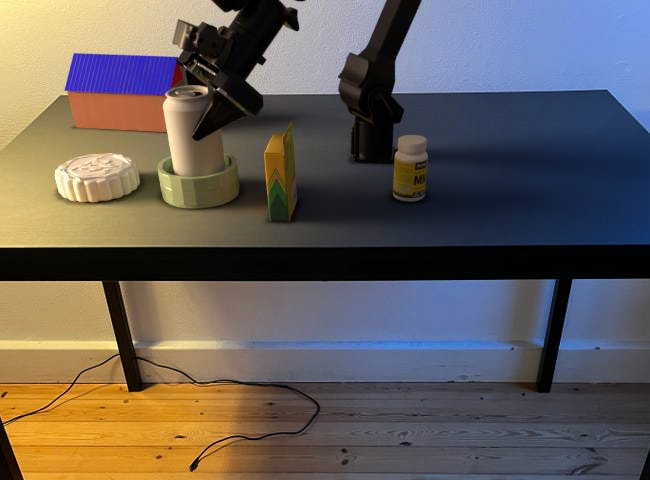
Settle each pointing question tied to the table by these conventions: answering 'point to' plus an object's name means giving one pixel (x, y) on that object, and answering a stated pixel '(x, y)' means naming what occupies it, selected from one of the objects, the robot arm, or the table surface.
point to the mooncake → (97, 177)
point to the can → (180, 123)
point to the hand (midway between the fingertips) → (184, 131)
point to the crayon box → (281, 175)
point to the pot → (199, 185)
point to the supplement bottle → (410, 168)
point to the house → (121, 90)
